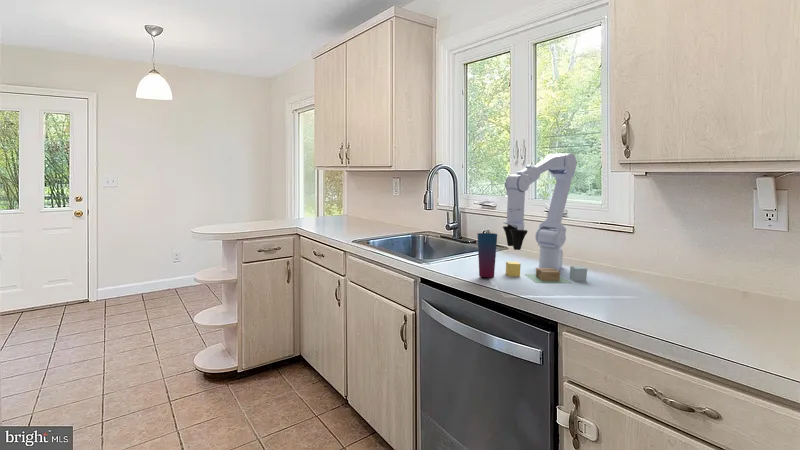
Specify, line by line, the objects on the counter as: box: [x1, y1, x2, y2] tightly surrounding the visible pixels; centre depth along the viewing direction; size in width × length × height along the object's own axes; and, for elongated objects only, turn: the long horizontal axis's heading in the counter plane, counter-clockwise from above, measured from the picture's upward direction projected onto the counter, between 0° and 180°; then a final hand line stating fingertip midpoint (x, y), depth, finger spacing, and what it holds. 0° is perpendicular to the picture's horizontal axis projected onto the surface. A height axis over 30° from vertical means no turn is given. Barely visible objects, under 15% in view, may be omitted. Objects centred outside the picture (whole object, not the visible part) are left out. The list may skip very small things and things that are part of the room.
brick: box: [569, 265, 588, 282], centre depth 144 cm, size 4×4×5 cm
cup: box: [477, 232, 498, 278], centre depth 148 cm, size 7×7×15 cm
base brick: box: [535, 268, 561, 281], centre depth 145 cm, size 6×6×3 cm
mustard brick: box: [505, 261, 522, 277], centre depth 150 cm, size 4×4×5 cm
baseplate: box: [524, 273, 572, 284], centre depth 145 cm, size 12×12×1 cm
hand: (513, 247), depth 149 cm, fingers open, 7 cm apart
